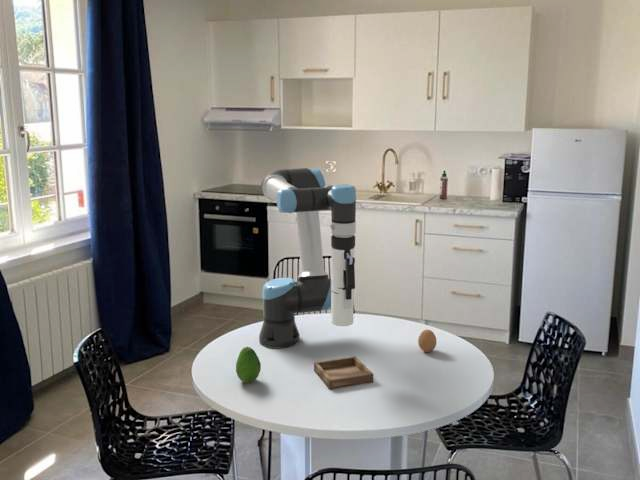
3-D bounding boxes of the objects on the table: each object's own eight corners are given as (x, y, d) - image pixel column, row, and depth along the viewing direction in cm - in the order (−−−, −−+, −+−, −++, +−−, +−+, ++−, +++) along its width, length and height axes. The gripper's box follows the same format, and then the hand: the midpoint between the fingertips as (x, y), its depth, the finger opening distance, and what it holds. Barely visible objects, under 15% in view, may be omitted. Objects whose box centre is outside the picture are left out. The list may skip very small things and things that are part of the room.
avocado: (237, 388, 205) (235, 352, 202) (235, 377, 213) (234, 343, 210) (262, 385, 207) (261, 350, 204) (259, 375, 214) (258, 341, 211)
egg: (414, 350, 234) (414, 329, 232) (426, 346, 237) (427, 325, 236) (427, 356, 229) (428, 334, 227) (439, 352, 232) (440, 330, 230)
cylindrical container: (351, 327, 205) (352, 250, 199) (329, 325, 207) (329, 249, 200) (354, 319, 212) (355, 245, 206) (333, 317, 213) (333, 243, 207)
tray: (314, 370, 217) (313, 362, 217) (355, 364, 222) (355, 356, 222) (329, 389, 204) (329, 380, 203) (373, 382, 209) (373, 373, 208)
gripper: (321, 228, 210) (321, 295, 216) (343, 243, 192) (343, 316, 197) (342, 227, 213) (342, 293, 218) (367, 241, 194) (365, 313, 200)
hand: (342, 304), depth 208 cm, fingers closed on cylindrical container, 7 cm apart
